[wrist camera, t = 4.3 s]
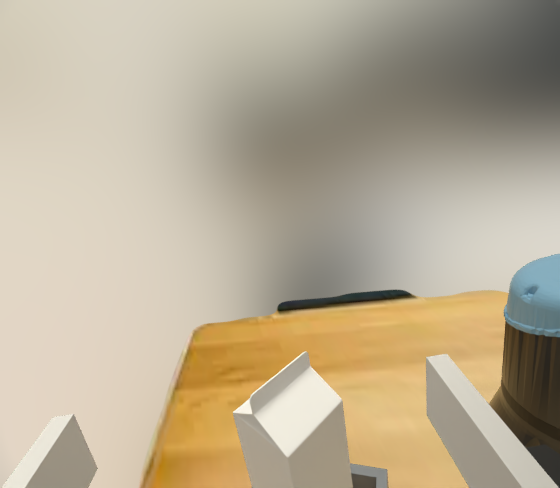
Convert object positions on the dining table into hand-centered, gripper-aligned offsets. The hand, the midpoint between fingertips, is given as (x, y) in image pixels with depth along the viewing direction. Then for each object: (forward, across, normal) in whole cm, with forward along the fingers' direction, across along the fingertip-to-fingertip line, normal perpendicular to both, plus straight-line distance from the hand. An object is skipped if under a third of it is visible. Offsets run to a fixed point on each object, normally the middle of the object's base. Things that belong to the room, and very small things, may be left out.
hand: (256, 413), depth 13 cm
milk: (+10, +1, -29) cm, 31 cm away
